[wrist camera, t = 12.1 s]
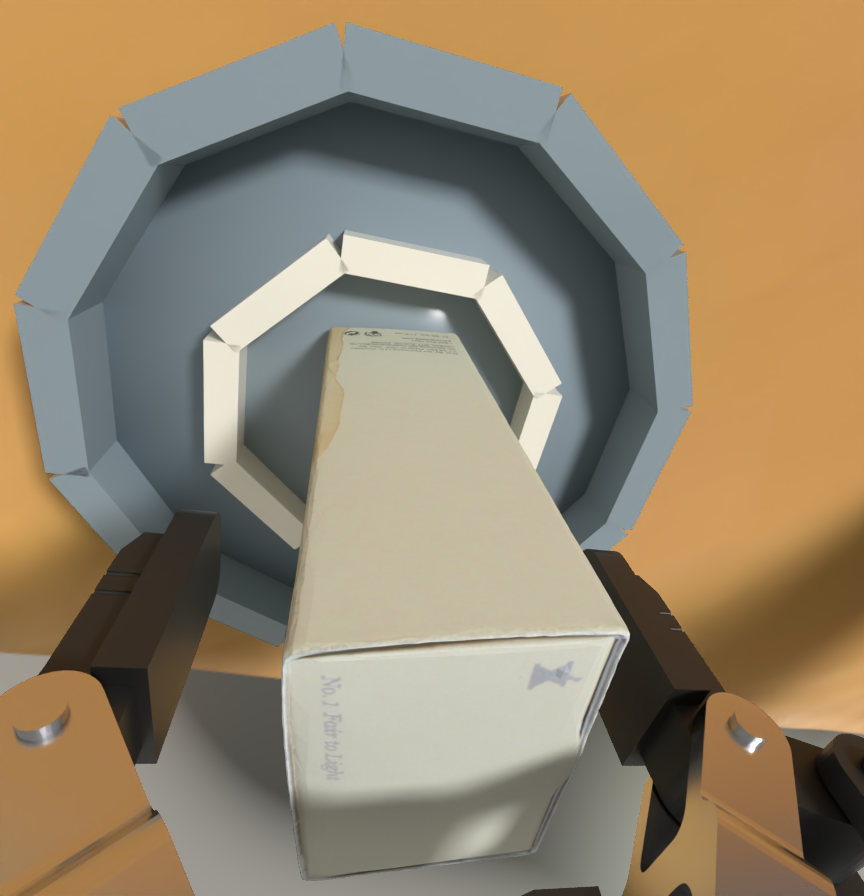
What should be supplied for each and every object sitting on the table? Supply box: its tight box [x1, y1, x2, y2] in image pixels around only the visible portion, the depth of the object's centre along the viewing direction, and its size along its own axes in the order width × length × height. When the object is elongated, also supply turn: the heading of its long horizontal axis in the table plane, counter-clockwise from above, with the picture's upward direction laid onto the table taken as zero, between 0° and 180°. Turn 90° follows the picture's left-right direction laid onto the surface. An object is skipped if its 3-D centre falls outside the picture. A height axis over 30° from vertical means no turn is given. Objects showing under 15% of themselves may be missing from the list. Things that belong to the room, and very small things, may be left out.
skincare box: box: [282, 327, 630, 881], centre depth 12 cm, size 6×4×12 cm
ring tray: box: [14, 22, 693, 647], centre depth 17 cm, size 20×20×3 cm
